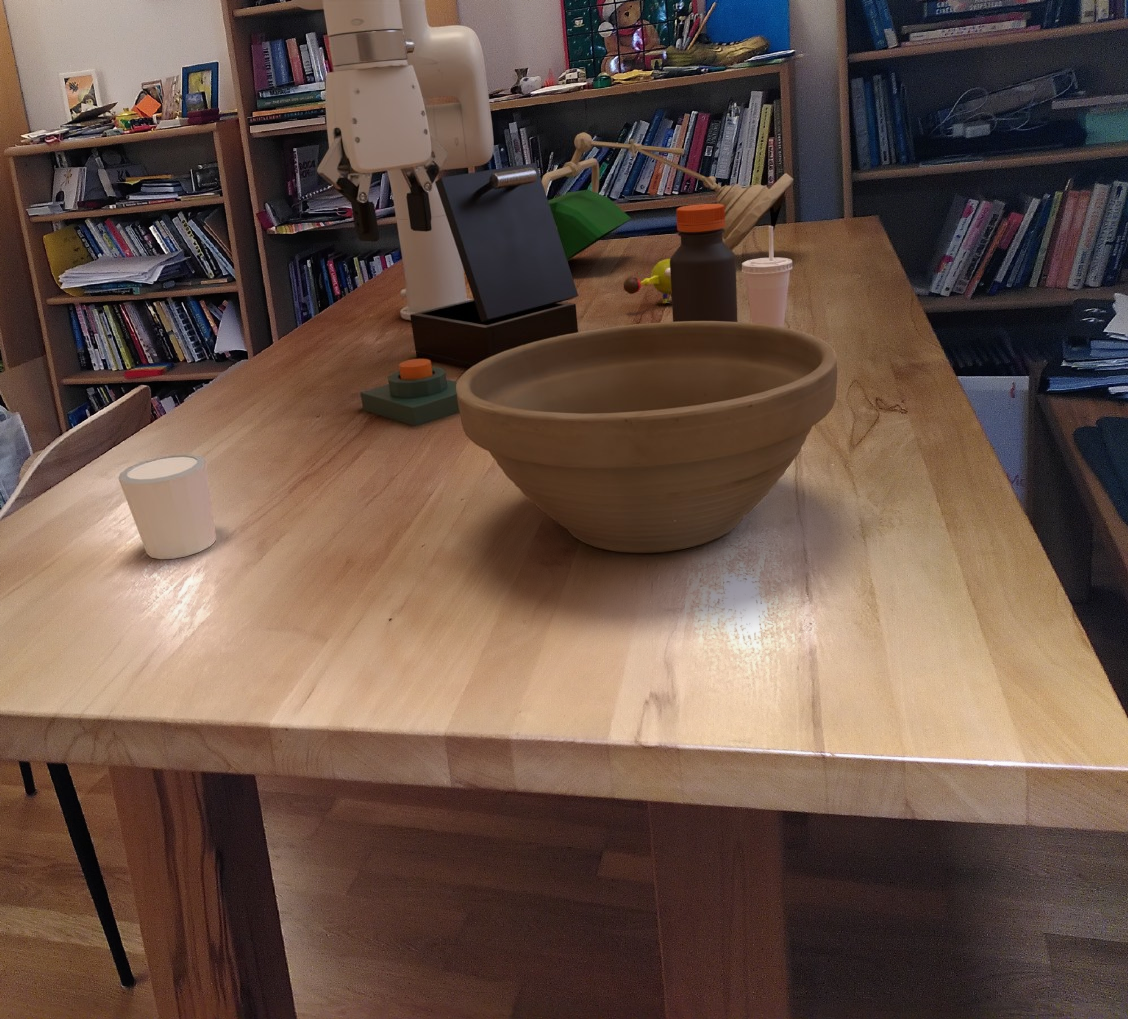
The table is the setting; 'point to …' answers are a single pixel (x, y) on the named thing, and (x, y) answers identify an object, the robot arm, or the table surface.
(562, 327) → the dark open lidded box
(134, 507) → the white cylinder
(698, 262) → the bottle
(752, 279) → the smoothie
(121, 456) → the table surface
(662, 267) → the toy figure
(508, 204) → the grill lid
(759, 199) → the desk lamp
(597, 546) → the brown mixing bowl
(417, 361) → the button
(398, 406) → the button block
